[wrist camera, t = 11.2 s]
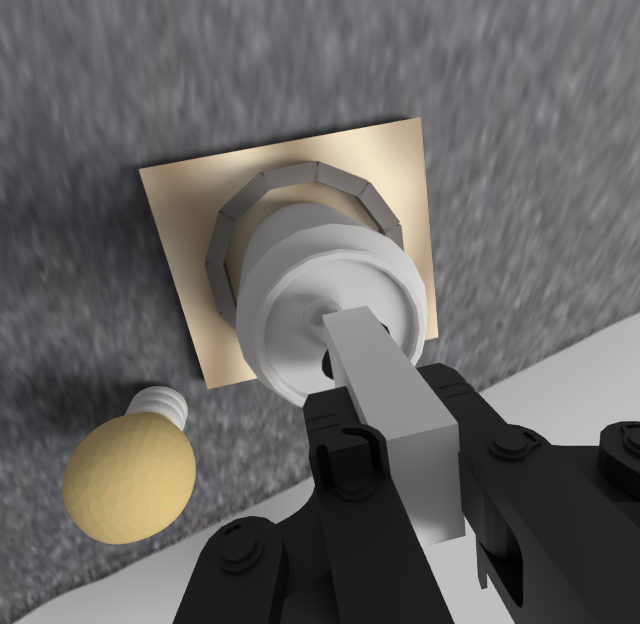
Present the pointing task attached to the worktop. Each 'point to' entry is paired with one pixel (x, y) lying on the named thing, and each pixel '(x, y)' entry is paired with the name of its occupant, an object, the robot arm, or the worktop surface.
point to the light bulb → (132, 470)
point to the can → (320, 294)
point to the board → (270, 195)
